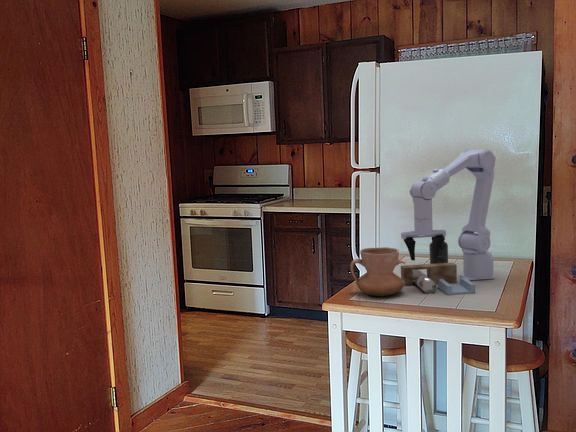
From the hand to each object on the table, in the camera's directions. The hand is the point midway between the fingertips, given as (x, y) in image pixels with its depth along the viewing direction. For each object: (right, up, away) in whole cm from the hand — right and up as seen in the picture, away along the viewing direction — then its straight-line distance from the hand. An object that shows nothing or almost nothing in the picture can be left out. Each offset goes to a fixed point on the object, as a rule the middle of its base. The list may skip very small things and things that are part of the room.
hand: (424, 259), depth 180 cm
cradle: (+9, -10, -4) cm, 14 cm away
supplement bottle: (+13, -5, +30) cm, 33 cm away
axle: (0, -7, +2) cm, 8 cm away
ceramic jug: (-15, -11, -3) cm, 19 cm away
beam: (+3, -9, +7) cm, 11 cm away
